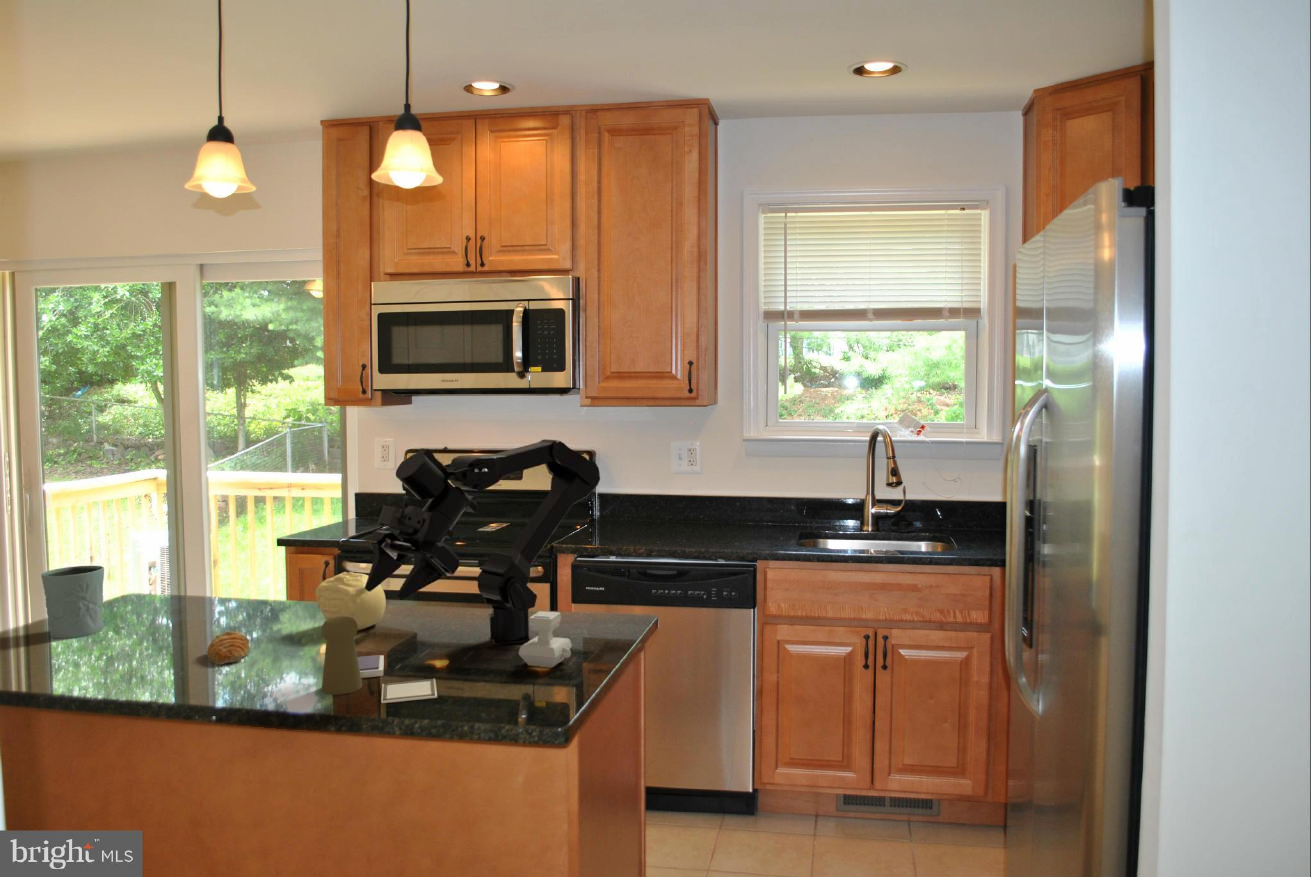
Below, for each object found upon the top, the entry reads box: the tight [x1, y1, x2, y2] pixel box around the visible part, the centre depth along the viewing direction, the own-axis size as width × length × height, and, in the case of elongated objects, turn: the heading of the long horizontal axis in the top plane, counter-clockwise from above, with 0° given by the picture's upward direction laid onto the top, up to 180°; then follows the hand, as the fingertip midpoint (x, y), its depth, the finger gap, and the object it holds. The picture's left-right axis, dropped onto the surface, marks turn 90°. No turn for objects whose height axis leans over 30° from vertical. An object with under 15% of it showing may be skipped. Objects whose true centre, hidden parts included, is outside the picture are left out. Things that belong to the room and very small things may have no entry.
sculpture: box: [315, 571, 387, 632], centre depth 179 cm, size 11×12×11 cm
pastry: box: [206, 631, 251, 665], centre depth 161 cm, size 9×7×4 cm
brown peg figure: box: [321, 616, 363, 696], centre depth 144 cm, size 6×6×11 cm
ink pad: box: [357, 654, 385, 679], centre depth 153 cm, size 8×8×1 cm
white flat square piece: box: [380, 678, 438, 704], centre depth 142 cm, size 8×8×1 cm
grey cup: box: [41, 565, 105, 640], centre depth 178 cm, size 10×10×12 cm
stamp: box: [518, 610, 573, 669], centre depth 155 cm, size 9×7×8 cm
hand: (382, 594), depth 149 cm, fingers open, 9 cm apart
